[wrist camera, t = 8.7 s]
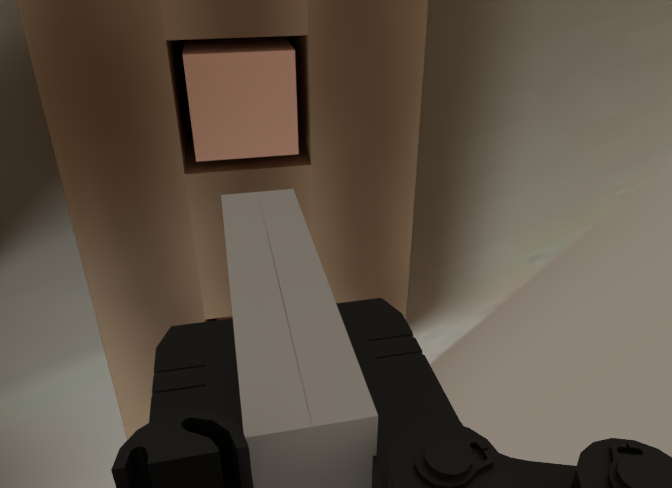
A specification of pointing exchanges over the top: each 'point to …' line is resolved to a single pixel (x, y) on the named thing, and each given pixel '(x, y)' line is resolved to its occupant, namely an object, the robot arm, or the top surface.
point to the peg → (241, 97)
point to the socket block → (223, 175)
